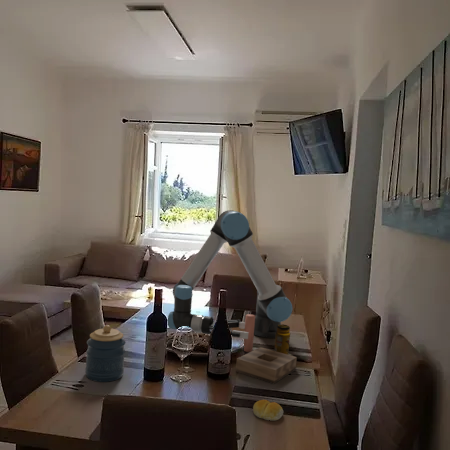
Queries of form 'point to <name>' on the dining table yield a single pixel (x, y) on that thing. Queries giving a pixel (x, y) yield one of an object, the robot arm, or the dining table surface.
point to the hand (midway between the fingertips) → (251, 331)
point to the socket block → (266, 364)
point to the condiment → (282, 339)
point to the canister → (105, 355)
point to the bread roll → (267, 410)
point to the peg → (249, 332)
